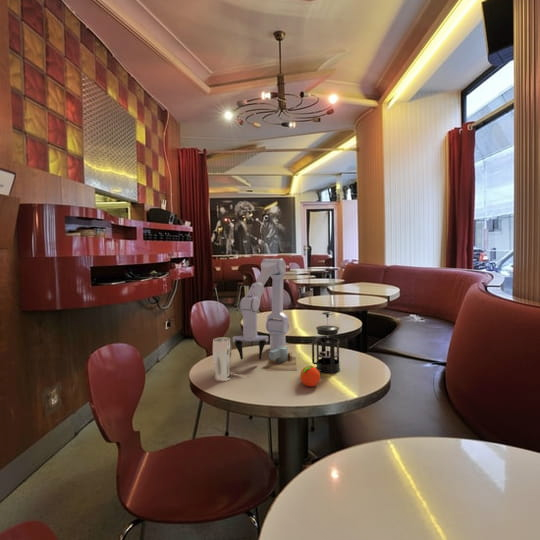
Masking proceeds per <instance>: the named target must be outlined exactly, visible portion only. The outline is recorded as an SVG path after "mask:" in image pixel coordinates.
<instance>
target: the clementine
mask: <svg viewBox="0 0 540 540" xmlns="http://www.w3.org/2000/svg"><path fill="white" fill-rule="evenodd" d="M319 371H320V370H318V369H317V367H315V366H312V365H306V366H305V367H304V368H302V370H301V372H300V376H299V377H300V380H301V382H302V384H303V385H304V386H306V387H315V386H317V385H318V384H319V382H320V380H321V374H320V372H319Z"/></svg>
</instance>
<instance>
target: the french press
mask: <svg viewBox="0 0 540 540" xmlns="http://www.w3.org/2000/svg"><path fill="white" fill-rule="evenodd" d="M321 314H322V315H325V316H326V325H319V326H316V330H317V331H316V332H317V334H318V335H320V336H323V337H318V338H317V339H316V340H315V341H312V342H311V363H312V364H313V365H316V369H317V370H318V371H319V373H321V374H328V375H330V374H337V373H339V372H340V371H341V367H340V339H339V338H336V337H333V336H337V335H338V333H339V330H340V327H339V326H336V325H329V315H333V314H334V313H333V312H331V311H324V312H322V313H321ZM326 341H327V342H326ZM330 341H331V342H330ZM315 344H316V361H315ZM320 346H321V351H319V347H320ZM335 347H336V351H335ZM326 349H327V350H326Z"/></svg>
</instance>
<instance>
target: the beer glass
mask: <svg viewBox="0 0 540 540" xmlns="http://www.w3.org/2000/svg"><path fill="white" fill-rule="evenodd" d="M212 357H213V361H214V366H215V373H214V380H215V381H217V382H227V381H230V380H231V379H232V374H231V370H230V369H231V361H232V360H231V359H232V340H231V338H230V337H225V336H223V337H216V338H213V340H212Z"/></svg>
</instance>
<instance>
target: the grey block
mask: <svg viewBox="0 0 540 540" xmlns="http://www.w3.org/2000/svg"><path fill="white" fill-rule="evenodd" d="M288 353H289V348H288V347H287V346H286V347H285V346H279V347H276V349H274V350H272V351H270V350H269V352H268V357H269V359H273V360H274V359H276V361H277V362H287V361H288Z"/></svg>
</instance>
